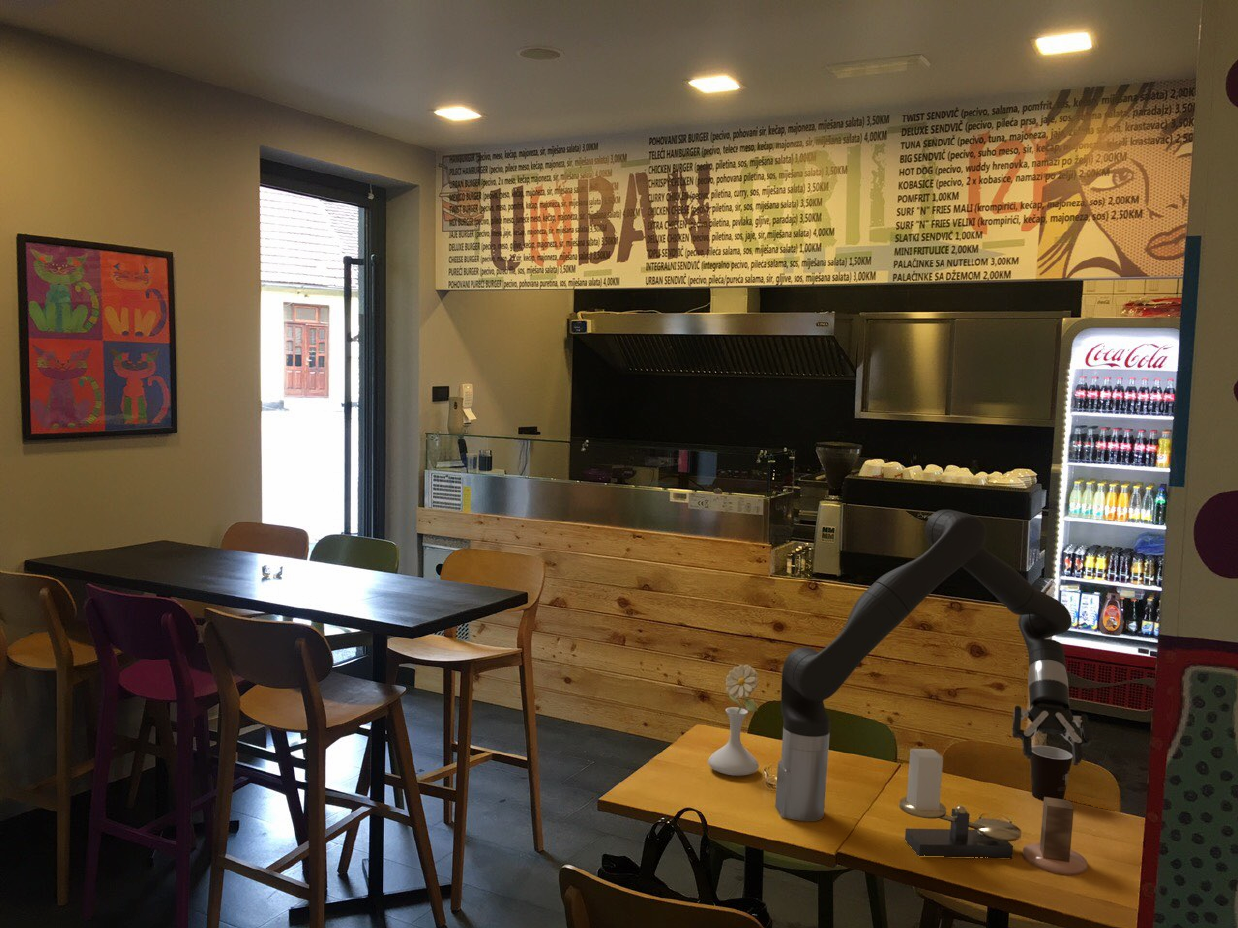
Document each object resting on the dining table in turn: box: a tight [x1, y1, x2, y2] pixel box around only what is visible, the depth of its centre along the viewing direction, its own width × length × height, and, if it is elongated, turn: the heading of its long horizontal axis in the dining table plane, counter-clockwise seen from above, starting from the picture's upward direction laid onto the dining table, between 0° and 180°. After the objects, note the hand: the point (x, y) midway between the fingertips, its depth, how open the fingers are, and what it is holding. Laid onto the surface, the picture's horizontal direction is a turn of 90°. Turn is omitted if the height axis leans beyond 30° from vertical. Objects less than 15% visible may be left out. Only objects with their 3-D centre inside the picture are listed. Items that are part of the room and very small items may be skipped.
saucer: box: [1022, 842, 1088, 876], centre depth 187 cm, size 11×11×1 cm
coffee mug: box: [1029, 745, 1073, 802], centre depth 220 cm, size 12×9×10 cm
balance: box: [899, 796, 1022, 860], centre depth 189 cm, size 23×8×8 cm, turn 95°
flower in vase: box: [707, 664, 760, 777], centre depth 223 cm, size 13×11×25 cm
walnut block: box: [1039, 797, 1075, 862], centre depth 187 cm, size 4×4×10 cm
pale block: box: [906, 748, 944, 810], centre depth 188 cm, size 4×4×10 cm
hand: (1052, 760), depth 196 cm, fingers open, 8 cm apart
